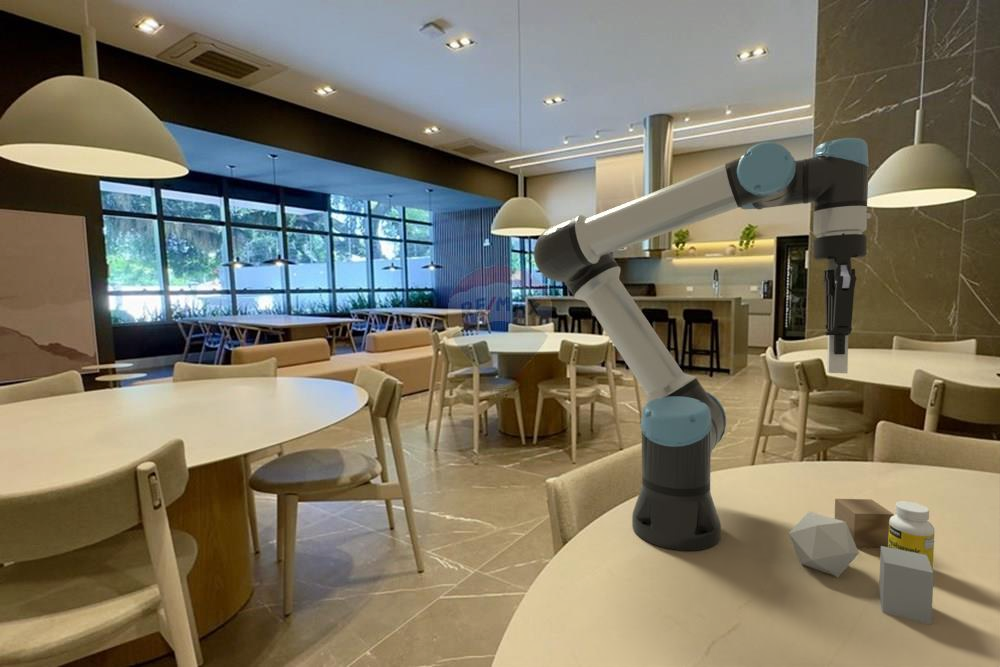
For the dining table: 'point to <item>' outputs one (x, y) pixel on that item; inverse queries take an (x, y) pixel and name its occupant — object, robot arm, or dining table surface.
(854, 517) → the walnut block
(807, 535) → the die
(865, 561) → the dining table surface
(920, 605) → the grey block
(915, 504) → the supplement bottle
